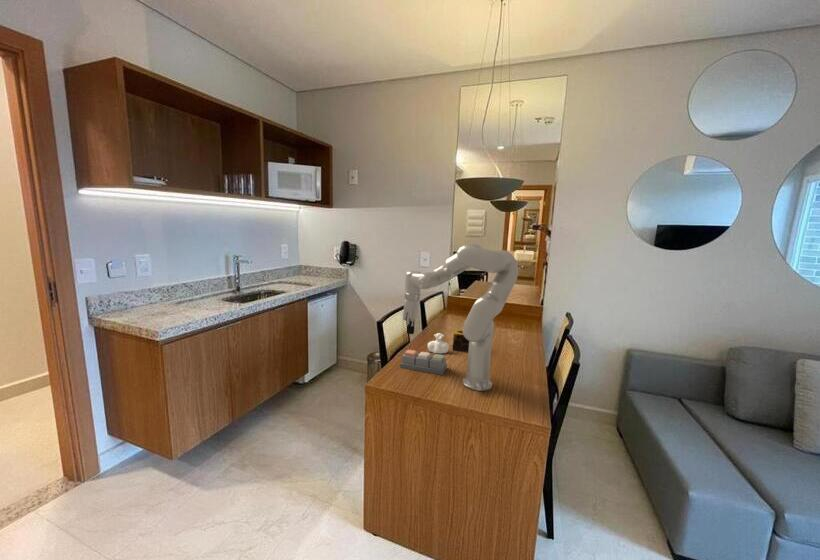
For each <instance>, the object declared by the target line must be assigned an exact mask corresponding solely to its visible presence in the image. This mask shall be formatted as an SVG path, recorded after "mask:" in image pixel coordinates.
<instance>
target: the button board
mask: <svg viewBox="0 0 820 560" xmlns="http://www.w3.org/2000/svg"><path fill="white" fill-rule="evenodd" d="M419 354H420V353H417V352H416V355H415V356H414V357H410V356H405V353H403V354H402V355H401V362H400V364H399V365H400V366H399V367H400V368H402V369H407V370H412V371H418V372H423V373H429V374H434V375H440V376H443V375H444V373H445V371H446V370H447V368H448V364H447V357H444V360H443V361H442V362H439V361H433V360H432V358H433V355H432V354H430V357H429V358H428V360H427V359H421V358H418V355H419Z"/></svg>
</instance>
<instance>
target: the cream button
mask: <svg viewBox="0 0 820 560" xmlns="http://www.w3.org/2000/svg"><path fill="white" fill-rule="evenodd" d="M430 355H431V353H430V352H425V351H420V353H419V355H418V358H421V359H427V360H428V358H429V357H430Z"/></svg>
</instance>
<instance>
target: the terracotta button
mask: <svg viewBox="0 0 820 560" xmlns="http://www.w3.org/2000/svg"><path fill="white" fill-rule="evenodd" d="M416 353H417V350H413V349H407V350H406V351H405V352H404V354H405V356H410V357H414V356H415V355H416Z"/></svg>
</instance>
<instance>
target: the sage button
mask: <svg viewBox="0 0 820 560" xmlns="http://www.w3.org/2000/svg"><path fill="white" fill-rule="evenodd" d="M432 357H433V358H432V360H433V361H439V362H442V361H443V360H444V358H445V355H442V354H439V353H434V354H433V355H432Z"/></svg>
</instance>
